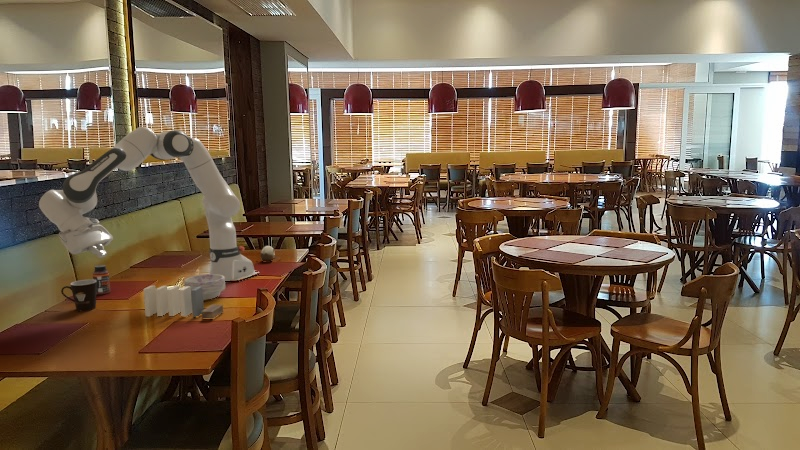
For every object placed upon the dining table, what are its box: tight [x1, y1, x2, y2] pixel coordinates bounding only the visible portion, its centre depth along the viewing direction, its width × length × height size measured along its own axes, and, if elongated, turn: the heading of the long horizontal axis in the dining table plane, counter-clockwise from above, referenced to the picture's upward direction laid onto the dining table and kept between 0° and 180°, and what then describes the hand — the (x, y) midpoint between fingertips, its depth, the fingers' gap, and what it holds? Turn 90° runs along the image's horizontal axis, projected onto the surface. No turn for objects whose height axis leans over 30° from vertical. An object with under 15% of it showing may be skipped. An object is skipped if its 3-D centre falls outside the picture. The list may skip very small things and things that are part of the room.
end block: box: [201, 304, 224, 319], centre depth 210 cm, size 4×8×3 cm, turn 171°
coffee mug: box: [61, 279, 97, 312], centre depth 222 cm, size 12×9×10 cm
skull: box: [260, 245, 282, 261], centre depth 300 cm, size 12×10×10 cm
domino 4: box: [179, 286, 193, 317], centre depth 211 cm, size 2×5×10 cm, turn 171°
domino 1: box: [142, 285, 157, 317], centre depth 213 cm, size 2×5×10 cm, turn 171°
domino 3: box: [167, 285, 181, 317], centre depth 212 cm, size 2×5×10 cm, turn 171°
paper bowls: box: [183, 273, 226, 301], centre depth 234 cm, size 15×15×8 cm
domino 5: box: [191, 287, 205, 318], centre depth 211 cm, size 2×5×10 cm, turn 171°
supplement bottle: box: [92, 264, 111, 296], centre depth 243 cm, size 6×6×11 cm
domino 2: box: [155, 285, 169, 318], centre depth 213 cm, size 2×5×10 cm, turn 171°
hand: (103, 256), depth 213 cm, fingers closed
